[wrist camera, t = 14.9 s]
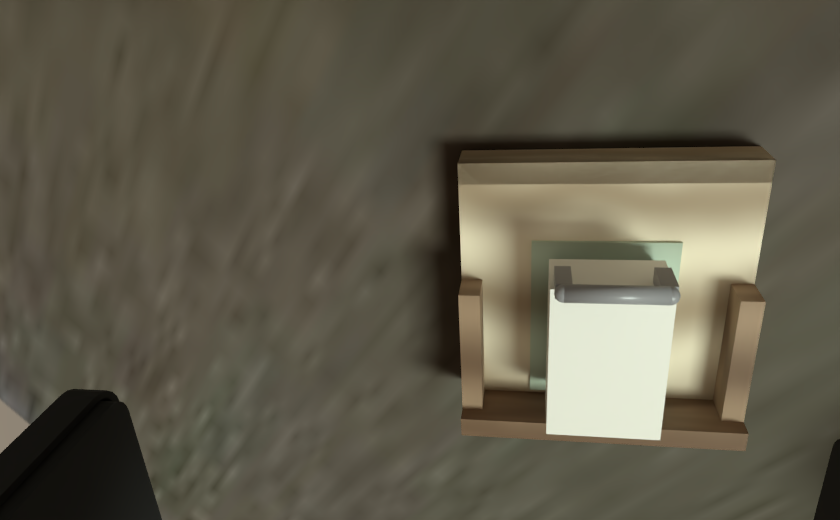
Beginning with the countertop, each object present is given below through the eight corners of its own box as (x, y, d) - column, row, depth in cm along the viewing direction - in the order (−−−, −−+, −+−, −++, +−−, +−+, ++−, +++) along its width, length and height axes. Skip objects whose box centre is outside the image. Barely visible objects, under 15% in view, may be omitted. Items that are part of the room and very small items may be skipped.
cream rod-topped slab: (548, 235, 37) (551, 289, 31) (662, 236, 36) (686, 291, 30) (544, 382, 41) (546, 454, 35) (646, 387, 40) (665, 461, 34)
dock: (462, 150, 38) (451, 181, 33) (760, 146, 36) (796, 179, 31) (469, 381, 45) (461, 435, 40) (721, 391, 42) (745, 451, 37)
